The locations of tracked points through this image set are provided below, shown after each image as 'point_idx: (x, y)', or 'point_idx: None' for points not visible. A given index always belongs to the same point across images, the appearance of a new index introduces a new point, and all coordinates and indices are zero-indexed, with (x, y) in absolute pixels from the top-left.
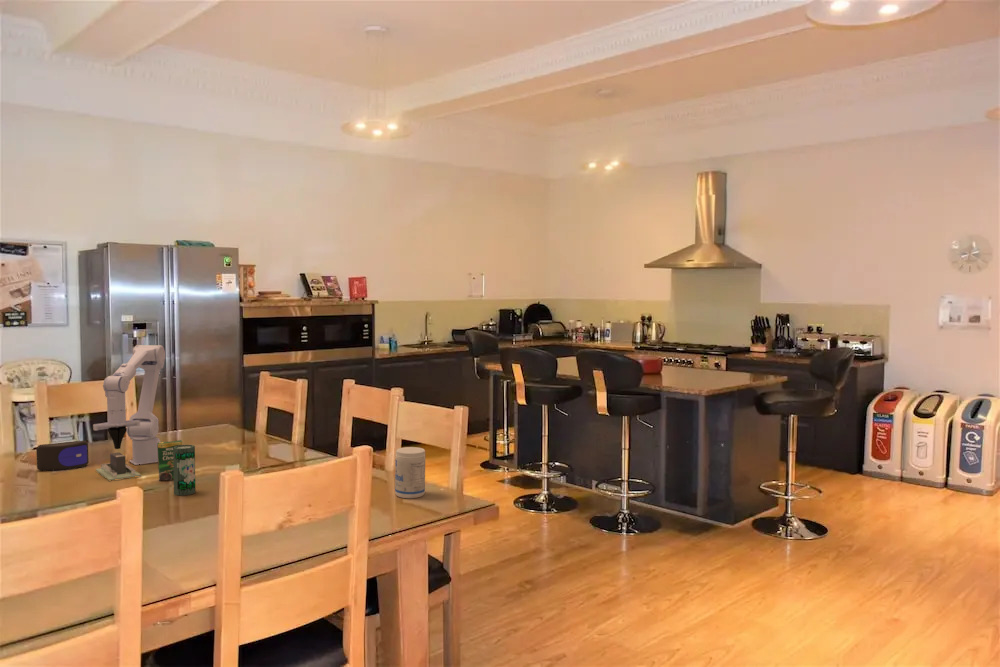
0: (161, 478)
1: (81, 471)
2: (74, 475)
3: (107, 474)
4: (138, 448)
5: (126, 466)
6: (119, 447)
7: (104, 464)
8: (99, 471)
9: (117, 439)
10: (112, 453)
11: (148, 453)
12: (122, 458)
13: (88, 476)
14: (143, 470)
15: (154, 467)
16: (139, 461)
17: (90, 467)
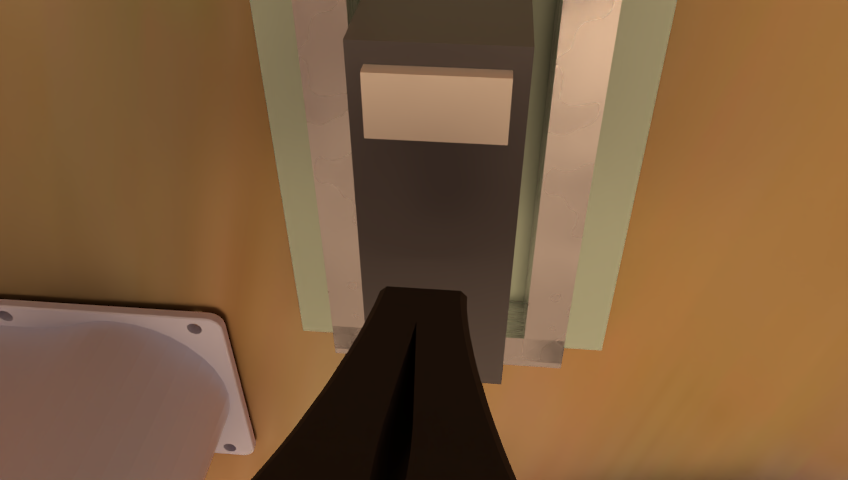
0: None
1: (701, 394)
2: (840, 305)
3: (621, 27)
4: (117, 474)
5: (340, 99)
6: (395, 300)
7: (533, 343)
8: (622, 239)
9: (420, 454)
10: None
11: (43, 392)
12: (406, 27)
13: (769, 182)
14: (151, 69)
15: (27, 132)
16: (169, 350)
17: (576, 458)
